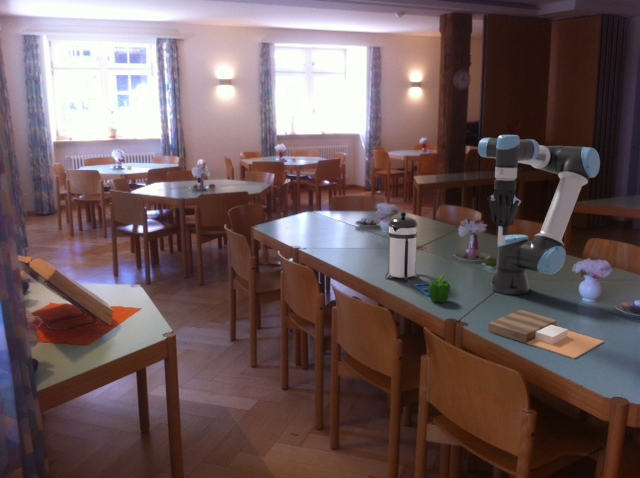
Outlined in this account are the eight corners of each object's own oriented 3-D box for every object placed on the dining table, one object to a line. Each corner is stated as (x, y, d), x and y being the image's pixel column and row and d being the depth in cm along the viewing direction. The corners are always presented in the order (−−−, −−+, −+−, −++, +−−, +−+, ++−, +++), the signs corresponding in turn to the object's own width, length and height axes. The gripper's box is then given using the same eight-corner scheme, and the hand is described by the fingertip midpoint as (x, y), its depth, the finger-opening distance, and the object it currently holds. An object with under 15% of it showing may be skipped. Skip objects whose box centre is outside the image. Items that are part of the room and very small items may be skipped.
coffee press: (424, 282, 260) (426, 214, 254) (388, 283, 259) (389, 215, 252) (415, 271, 277) (417, 207, 271) (381, 272, 276) (382, 208, 269)
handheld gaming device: (427, 294, 241) (412, 283, 255) (427, 297, 242) (412, 286, 256) (446, 292, 243) (429, 282, 258) (445, 295, 244) (429, 284, 258)
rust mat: (557, 328, 207) (557, 327, 206) (603, 342, 195) (603, 341, 195) (526, 343, 194) (526, 342, 194) (574, 359, 182) (574, 357, 182)
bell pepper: (438, 305, 230) (439, 281, 228) (424, 300, 237) (425, 275, 235) (454, 302, 234) (455, 277, 232) (440, 296, 241) (441, 272, 239)
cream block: (550, 331, 203) (551, 324, 202) (567, 336, 198) (568, 329, 198) (535, 338, 197) (535, 331, 196) (552, 344, 192) (552, 337, 192)
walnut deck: (519, 317, 217) (520, 309, 217) (556, 328, 207) (556, 320, 206) (488, 331, 205) (488, 322, 204) (525, 343, 194) (525, 334, 194)
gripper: (483, 178, 214) (480, 241, 220) (516, 181, 205) (511, 248, 210) (495, 176, 219) (491, 238, 225) (527, 179, 210) (522, 244, 215)
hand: (501, 243), depth 217 cm, fingers closed
